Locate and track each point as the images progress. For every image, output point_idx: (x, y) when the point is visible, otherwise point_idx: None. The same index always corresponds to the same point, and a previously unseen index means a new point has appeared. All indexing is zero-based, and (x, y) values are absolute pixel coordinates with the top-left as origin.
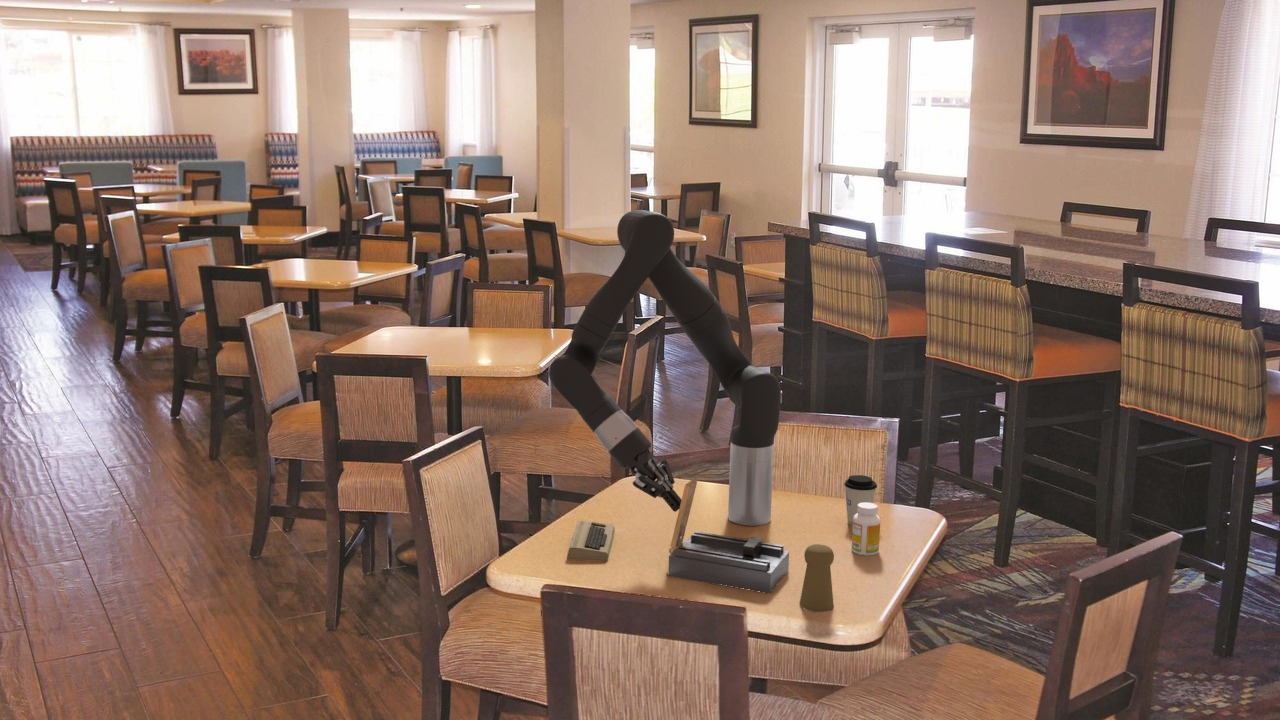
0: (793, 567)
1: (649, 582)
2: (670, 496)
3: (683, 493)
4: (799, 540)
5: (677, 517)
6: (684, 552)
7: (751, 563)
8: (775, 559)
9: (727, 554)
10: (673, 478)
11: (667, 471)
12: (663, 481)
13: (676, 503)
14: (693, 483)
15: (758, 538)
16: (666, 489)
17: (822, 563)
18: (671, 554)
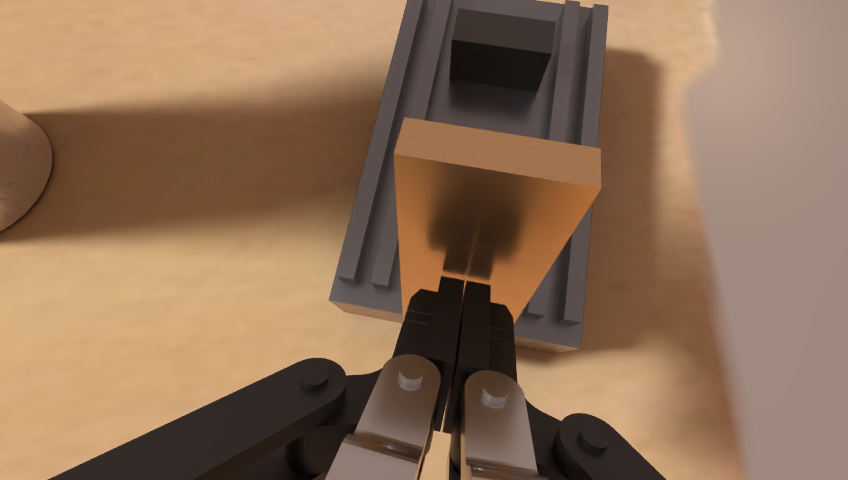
0: (381, 25)
1: (636, 407)
2: (505, 361)
3: (572, 232)
4: (171, 28)
5: (519, 312)
6: (583, 279)
7: (604, 47)
8: (490, 10)
9: (557, 124)
10: (265, 378)
11: (211, 466)
12: (474, 457)
13: (503, 315)
14: (497, 134)
15: (456, 18)
16: (523, 400)
17: None
18: (563, 340)
